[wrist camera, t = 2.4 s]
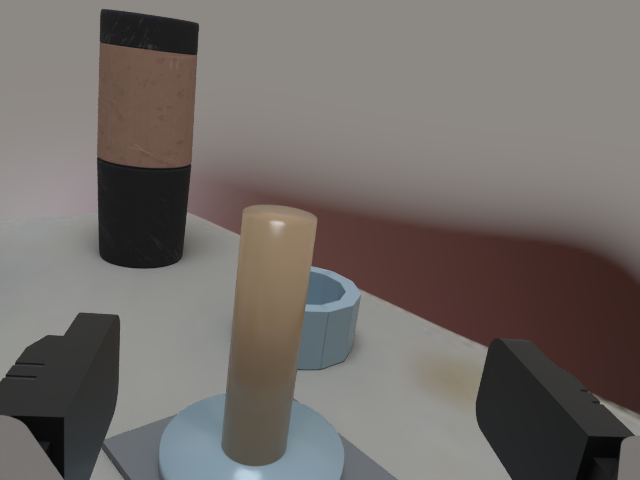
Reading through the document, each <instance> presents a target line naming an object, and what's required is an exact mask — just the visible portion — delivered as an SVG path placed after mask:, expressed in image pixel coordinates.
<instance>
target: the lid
mask: <svg viewBox="0 0 640 480" xmlns="http://www.w3.org/2000/svg"><path fill="white" fill-rule="evenodd" d="M316 224H317V217H316V216H314V215H313V214H311V213H309V212H307V211H303V210H301V209H297V208H293V207H287V206H279V205H255V206H250V207H247V208H245V209H244V210H243V216H242V228H241V238H240V248H239V259H238V269H237V280H236V291H235V301H234V312H233V323H232V333H231V344H230V355H229V365H228V376H227V387H226V394H222V395H217V396H213V397H210V398H206V399H204V400H201V401H199V402H196V403H194V404H192V405H190V406H189V407H187V408H185V409H184V410H182V411H181V412H180V413H179V414H177V415H176V416H175V417H174V418H173V419H172V420H171V422H170V423H169V424H168V425H167V427H166V429H165V430H164V432H163V435H162V437H161V441H160V448H159V477H160V480H341V477H342V471H343V465H344V448H343V444H342V441H341V439H340V437H339V435H338V433H337V432H336V430H335V429H334V427H333V426H332V425H331V424H330V423H329V422H328V421H327V420H326V419H325V418H324V417H323V416H321V415H320V414H319V413H317V412H316V411H314V410H313V409H311V408H309V407H307V406H306V405H303V404H301V403H299V402H297V401H294V400H293V396H294V388H295V381H296V374H297V366H298V359H299V351H300V344H301V337H302V329H303V322H304V314H305V307H306V300H307V292H308V285H309V277H310V270H311V262H312V255H313V248H314V240H315V233H316Z"/></svg>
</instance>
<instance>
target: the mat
mask: <svg viewBox="0 0 640 480" xmlns="http://www.w3.org/2000/svg"><path fill="white" fill-rule="evenodd" d="M293 400H294V401H296V400H295V399H294V398H293ZM297 402H298V401H297ZM176 415H177V414H176ZM176 415H174V416H171V417H168V418H165V419H162V420H159V421H156V422H154V423H151V424H148V425H145V426H142V427H139V428H136V429H133V430H131V431H128V432H125V433H122V434H119V435H116V436H113V437H111V438H108V439H105V440H104V442H103V444H102V448H103V450H104V451H105V452H106V454H107V455H108V456H109V458H110V459H111V461H112V462H113V463H114V465H115V466H116V467H117V469H118V470H119V472H120V473H121V474H122V476H123V477H124V478H125V480H160V477H159V448H160V441H161V437H162V435H163V432H164V430H165V429H166V427H167V425H168V424H169V423H170V422H171V420H172V419H173V418H174V417H175V416H176ZM338 435H339V437H340V439H341V441H342V444H343V448H344V465H343V471H342V477H341V480H397V479H396V478H395V477H394V476H392V475H391V474H390V473H388V472H387V471H386V470H385V469H383V468H382V467H381V466H380V465H378V464H377V463H376V462H374V461H373V460H372V459H371V458H369V457H368V456H367V455H365V454H364V453H363V452H362V451H360V450H359V449H358V448H357V447H355V446H354V445H353V444H351V443H350V442H349V441H348V440H346V439H345V438H344V437H342V436H341V435H340V434H339V433H338Z"/></svg>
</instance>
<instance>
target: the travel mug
mask: <svg viewBox="0 0 640 480" xmlns="http://www.w3.org/2000/svg"><path fill="white" fill-rule="evenodd" d="M198 32H199V25H198V23H195V22H190V21H185V20H179V19H173V18H167V17H160V16H154V15H147V14H140V13H133V12H125V11H116V10H108V9H102V10H101V16H100V58H99V99H98V102H99V103H98V144H97V156H98V158H97V169H98V170H97V171H98V220H99V251H100V255H101V257H102V258H103V259H104V260H106V261H108V262H110V263H113V264H116V265H120V266H125V267H134V268H154V267H162V266H166V265H170V264H173V263H175V262H177V261H178V260H180V258H181V257H182V253H183V245H184V235H185V225H186V214H187V203H188V193H189V183H190V172H191V161H192V141H193V123H194V104H195V85H196V66H197V48H198Z"/></svg>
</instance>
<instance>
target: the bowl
mask: <svg viewBox="0 0 640 480" xmlns="http://www.w3.org/2000/svg"><path fill="white" fill-rule="evenodd" d="M360 298H361V293H360V292H359V290H358V289H357V287H356V286H355V284H354V283H353V282H352V281H350V280H348V279H346V278H344V277H343V276H341V275H339V274H337V273H335V272H333V271H329V270H325V269H320V268H316V267H312V266H311V270H310V277H309V285H308V292H307V300H306V307H305V314H304V322H303V329H302V337H301V344H300V351H299V359H298V366H297V369H323V368H326V367H329V366H331V365H334V364H337V363H340V362H343V361H344V360H345V359H346V357H347V355H348V354H349V352H350V350H351V349H352V346H353V340H354V334H355V328H356V322H357V316H358V310H359V304H360Z"/></svg>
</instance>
